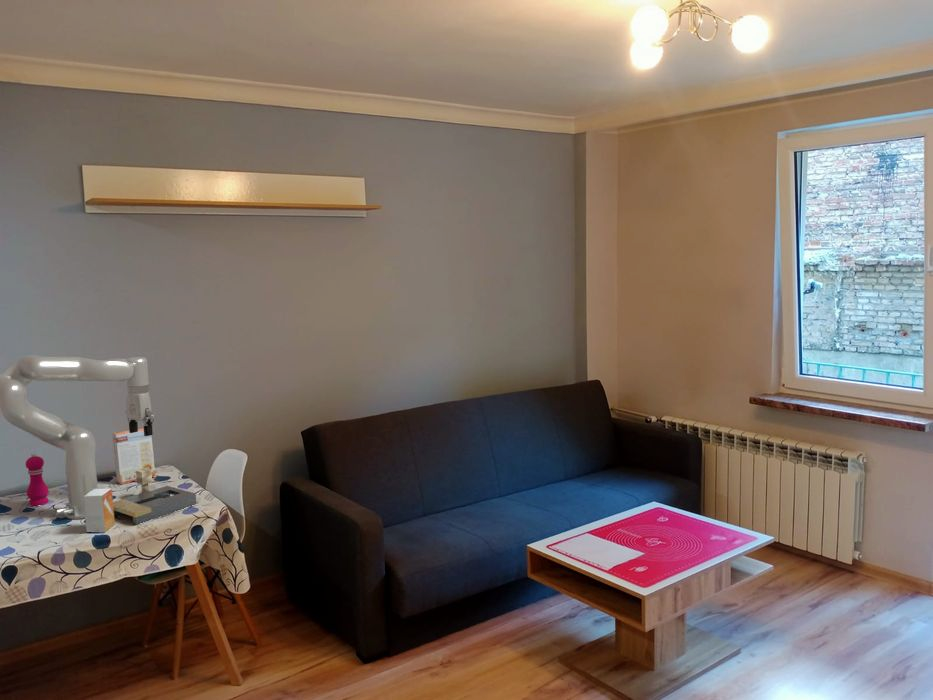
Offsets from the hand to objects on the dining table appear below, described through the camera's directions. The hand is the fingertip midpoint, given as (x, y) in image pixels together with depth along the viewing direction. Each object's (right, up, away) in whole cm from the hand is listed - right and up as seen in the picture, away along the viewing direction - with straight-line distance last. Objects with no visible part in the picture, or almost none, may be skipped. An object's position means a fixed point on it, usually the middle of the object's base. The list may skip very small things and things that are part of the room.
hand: (141, 434), depth 281 cm
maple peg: (0, -25, +3) cm, 25 cm away
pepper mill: (-38, -27, -1) cm, 47 cm away
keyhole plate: (+10, -27, -12) cm, 31 cm away
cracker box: (-14, -22, +26) cm, 37 cm away
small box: (-1, -29, -29) cm, 41 cm away
